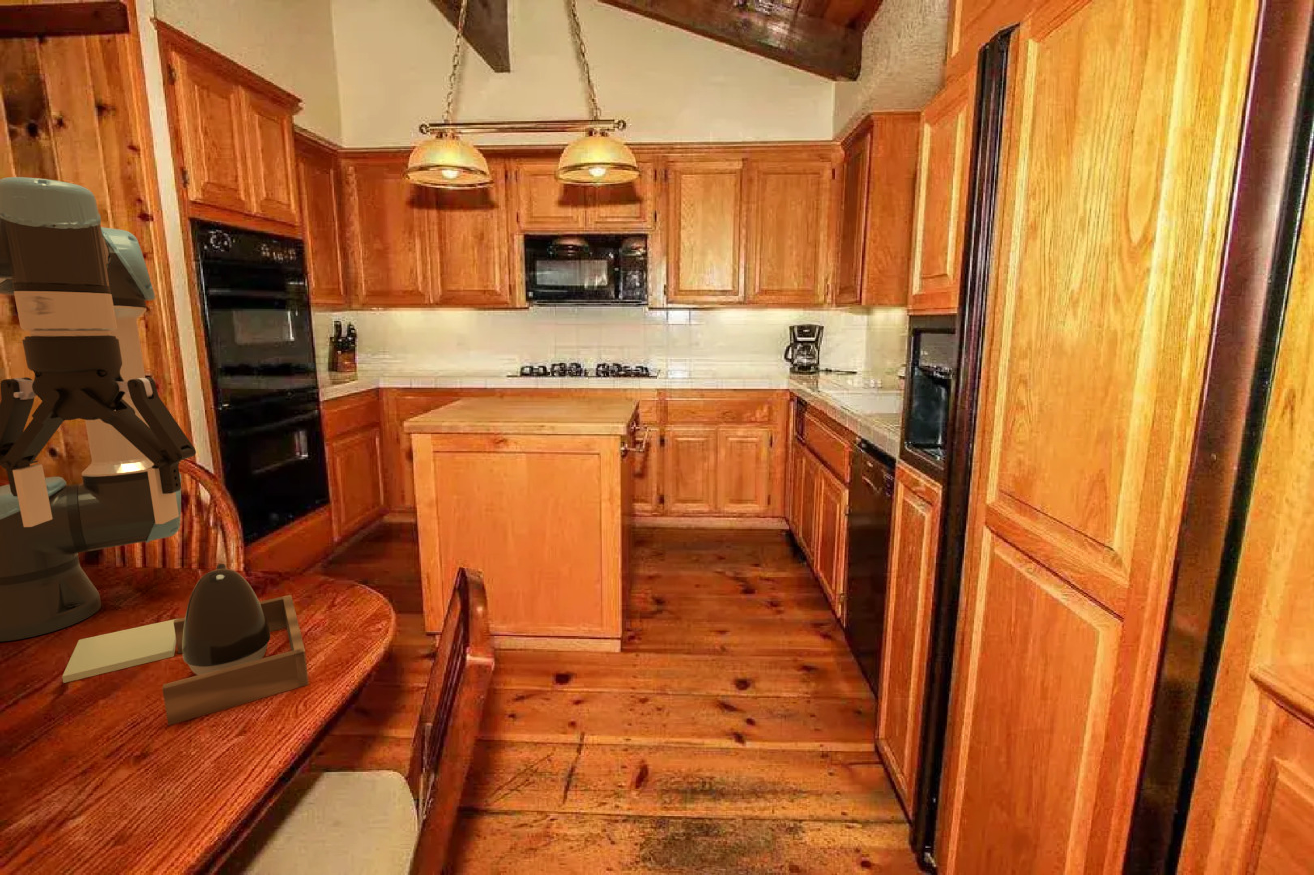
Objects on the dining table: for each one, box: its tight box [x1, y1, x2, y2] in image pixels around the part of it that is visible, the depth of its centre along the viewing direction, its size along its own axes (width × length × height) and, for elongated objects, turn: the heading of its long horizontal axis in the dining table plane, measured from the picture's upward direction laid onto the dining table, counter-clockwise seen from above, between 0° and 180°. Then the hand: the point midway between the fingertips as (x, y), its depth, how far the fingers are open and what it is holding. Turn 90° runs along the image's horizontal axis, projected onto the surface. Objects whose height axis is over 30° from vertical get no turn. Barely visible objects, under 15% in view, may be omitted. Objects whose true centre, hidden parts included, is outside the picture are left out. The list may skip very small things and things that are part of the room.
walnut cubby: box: [162, 594, 310, 726], centre depth 87 cm, size 21×15×5 cm
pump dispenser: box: [181, 563, 271, 676], centre depth 85 cm, size 10×10×15 cm
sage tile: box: [61, 618, 177, 684], centre depth 91 cm, size 12×12×1 cm
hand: (103, 522), depth 69 cm, fingers open, 13 cm apart
